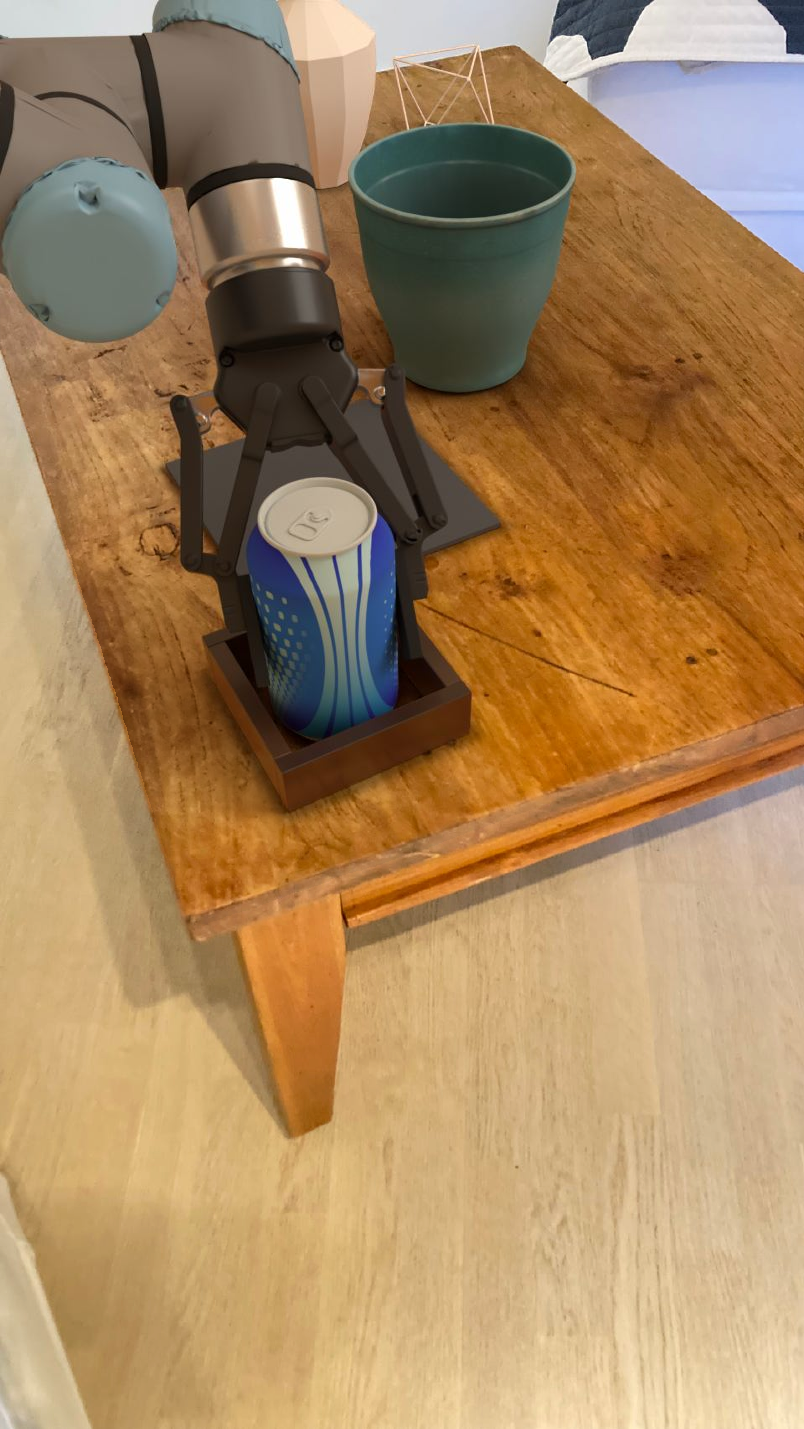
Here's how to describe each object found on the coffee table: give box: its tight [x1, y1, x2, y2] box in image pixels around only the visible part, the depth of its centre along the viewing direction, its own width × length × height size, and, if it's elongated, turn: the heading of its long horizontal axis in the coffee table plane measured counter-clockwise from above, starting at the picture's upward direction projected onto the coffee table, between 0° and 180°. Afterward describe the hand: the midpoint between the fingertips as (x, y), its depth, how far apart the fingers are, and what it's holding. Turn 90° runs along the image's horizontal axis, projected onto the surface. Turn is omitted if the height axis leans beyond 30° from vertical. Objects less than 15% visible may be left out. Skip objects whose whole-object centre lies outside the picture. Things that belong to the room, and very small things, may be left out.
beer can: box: [246, 477, 399, 743], centre depth 64 cm, size 8×8×16 cm
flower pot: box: [347, 122, 577, 393], centre depth 90 cm, size 18×18×17 cm
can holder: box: [201, 622, 473, 813], centre depth 69 cm, size 13×13×4 cm
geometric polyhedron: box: [392, 43, 495, 130], centre depth 124 cm, size 12×11×9 cm
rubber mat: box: [164, 397, 502, 576], centre depth 84 cm, size 20×20×1 cm
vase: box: [276, 0, 377, 190], centre depth 113 cm, size 14×14×25 cm
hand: (339, 671), depth 63 cm, fingers closed on beer can, 8 cm apart
